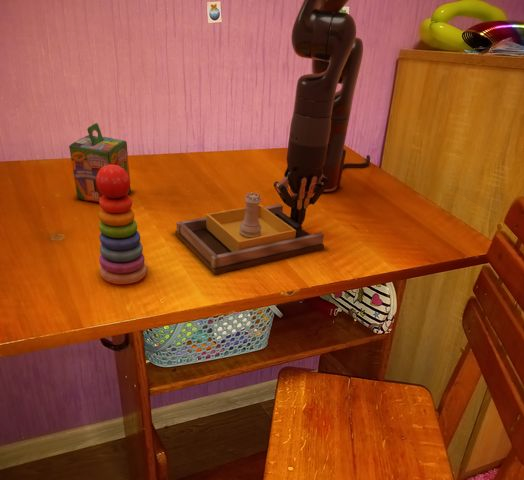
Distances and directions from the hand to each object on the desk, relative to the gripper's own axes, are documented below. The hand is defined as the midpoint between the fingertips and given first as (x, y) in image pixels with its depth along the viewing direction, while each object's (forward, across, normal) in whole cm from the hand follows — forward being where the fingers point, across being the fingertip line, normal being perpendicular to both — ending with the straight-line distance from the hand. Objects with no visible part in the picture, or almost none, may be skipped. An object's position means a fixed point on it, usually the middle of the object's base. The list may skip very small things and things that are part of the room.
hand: (296, 224), depth 103 cm
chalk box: (+2, -30, +32) cm, 44 cm away
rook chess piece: (0, -12, 0) cm, 12 cm away
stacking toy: (+2, -38, -2) cm, 38 cm away
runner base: (+2, -11, 0) cm, 11 cm away
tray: (+1, -10, 0) cm, 10 cm away
